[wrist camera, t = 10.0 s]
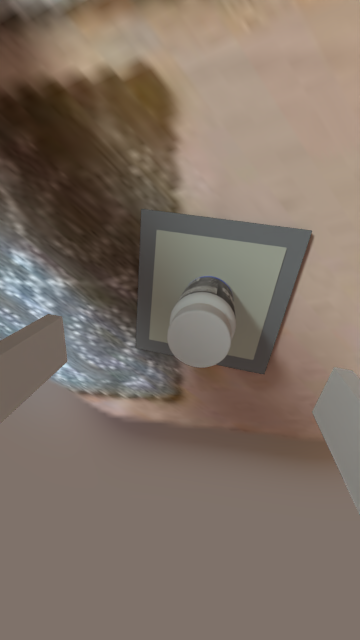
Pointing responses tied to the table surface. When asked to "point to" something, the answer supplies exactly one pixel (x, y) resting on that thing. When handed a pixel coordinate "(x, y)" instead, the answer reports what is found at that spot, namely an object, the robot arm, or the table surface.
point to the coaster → (225, 263)
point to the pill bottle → (202, 322)
